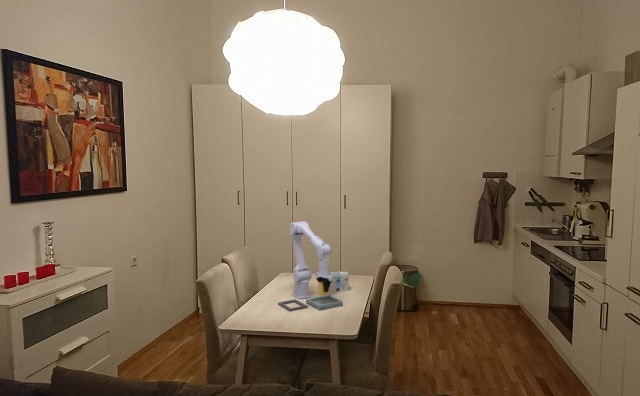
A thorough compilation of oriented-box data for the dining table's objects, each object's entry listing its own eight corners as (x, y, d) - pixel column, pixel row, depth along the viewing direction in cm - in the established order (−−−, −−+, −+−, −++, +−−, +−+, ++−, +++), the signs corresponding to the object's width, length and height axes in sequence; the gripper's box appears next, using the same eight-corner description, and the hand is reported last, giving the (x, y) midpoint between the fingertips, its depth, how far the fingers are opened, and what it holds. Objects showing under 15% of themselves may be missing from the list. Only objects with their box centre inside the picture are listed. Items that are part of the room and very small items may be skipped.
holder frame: (278, 304, 248) (278, 302, 248) (295, 301, 254) (295, 299, 254) (289, 311, 236) (289, 309, 236) (307, 307, 242) (307, 305, 242)
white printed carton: (332, 292, 272) (332, 274, 271) (329, 289, 279) (329, 272, 278) (349, 290, 275) (349, 273, 274) (345, 287, 281) (345, 270, 281)
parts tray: (306, 303, 249) (306, 299, 249) (328, 299, 257) (328, 295, 257) (319, 310, 238) (319, 305, 237) (342, 305, 245) (342, 301, 245)
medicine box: (330, 291, 273) (330, 277, 272) (335, 293, 270) (335, 279, 269) (321, 294, 266) (321, 280, 266) (327, 296, 264) (327, 281, 263)
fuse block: (318, 295, 247) (318, 282, 246) (325, 294, 250) (325, 280, 249) (321, 297, 244) (321, 283, 244) (329, 295, 247) (329, 282, 246)
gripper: (311, 265, 250) (311, 289, 251) (325, 270, 238) (325, 295, 239) (321, 263, 254) (321, 287, 255) (336, 268, 241) (336, 293, 242)
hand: (324, 291), depth 247 cm, fingers closed on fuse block, 3 cm apart
